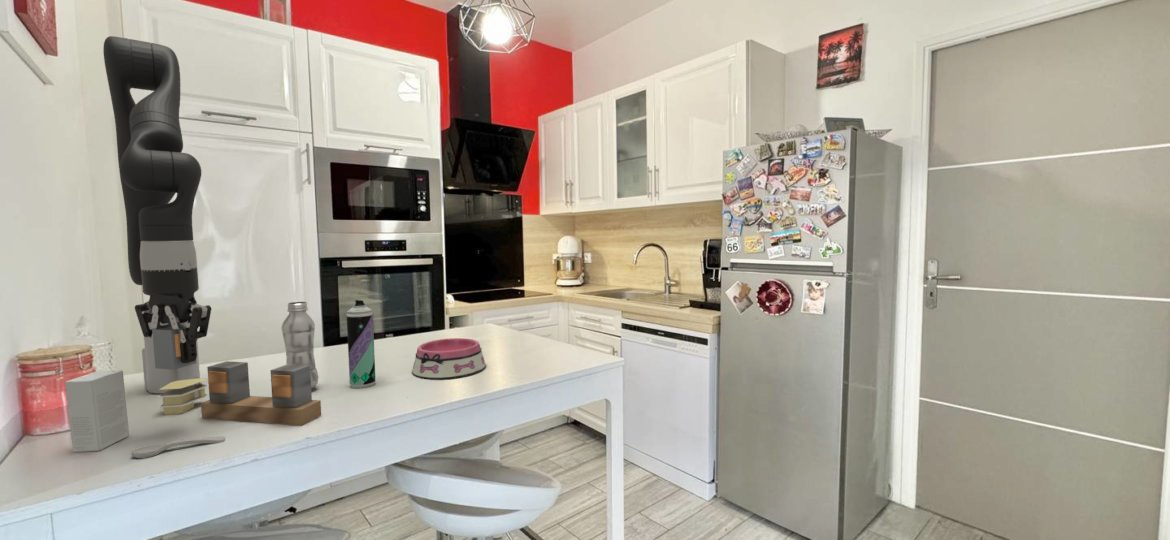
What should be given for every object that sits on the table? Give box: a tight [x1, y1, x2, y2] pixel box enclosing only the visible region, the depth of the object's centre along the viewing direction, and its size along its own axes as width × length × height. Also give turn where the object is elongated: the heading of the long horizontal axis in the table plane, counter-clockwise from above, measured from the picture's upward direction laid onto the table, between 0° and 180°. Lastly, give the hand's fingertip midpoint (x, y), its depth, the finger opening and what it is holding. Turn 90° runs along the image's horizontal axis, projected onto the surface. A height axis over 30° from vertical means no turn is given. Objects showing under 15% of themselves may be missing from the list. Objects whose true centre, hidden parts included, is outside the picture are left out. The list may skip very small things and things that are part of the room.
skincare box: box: [64, 369, 130, 453], centre depth 81 cm, size 6×4×12 cm
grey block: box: [152, 326, 196, 370], centre depth 86 cm, size 4×4×7 cm
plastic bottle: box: [281, 301, 319, 390], centre depth 108 cm, size 6×7×20 cm
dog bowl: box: [411, 337, 487, 381], centre depth 125 cm, size 18×19×7 cm
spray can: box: [346, 299, 376, 389], centre depth 112 cm, size 6×6×20 cm
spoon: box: [130, 435, 226, 459], centre depth 80 cm, size 3×12×2 cm, turn 124°
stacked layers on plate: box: [159, 377, 209, 415], centre depth 98 cm, size 10×9×6 cm
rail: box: [200, 360, 322, 427], centre depth 93 cm, size 22×5×10 cm, turn 80°
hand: (177, 360), depth 86 cm, fingers closed on grey block, 4 cm apart
